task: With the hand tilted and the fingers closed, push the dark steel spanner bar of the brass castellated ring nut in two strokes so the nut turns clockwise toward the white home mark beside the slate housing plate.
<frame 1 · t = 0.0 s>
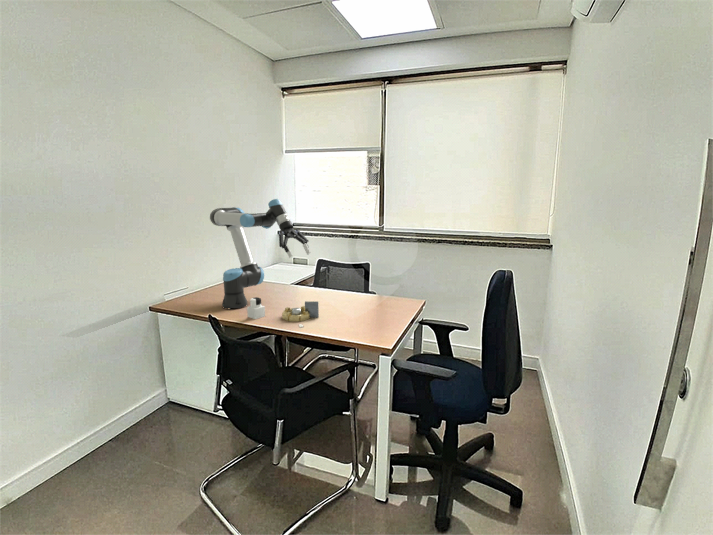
hand: (300, 255, 211), 36 cm above the table, tool tilted 35°, fingers open, 13 cm apart
housing plate: (296, 319, 213), on the table
home mark: (301, 328, 199), on the table
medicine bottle: (256, 318, 214), on the table
ring nut: (300, 309, 212), point 6 cm above the table, hinge at 0.0°
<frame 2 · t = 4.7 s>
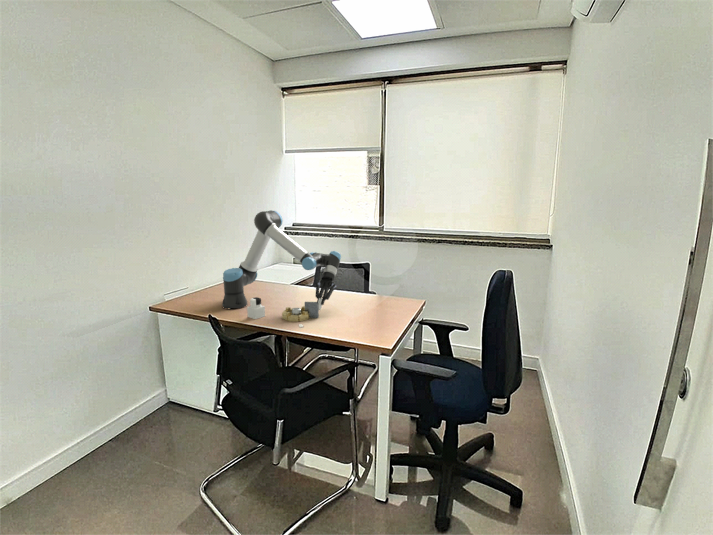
hand: (318, 309, 213), 5 cm above the table, tool tilted 45°, fingers closed
ring nut: (300, 309, 212), point 6 cm above the table, hinge at 4.0°, touching gripper
everything else where it was.
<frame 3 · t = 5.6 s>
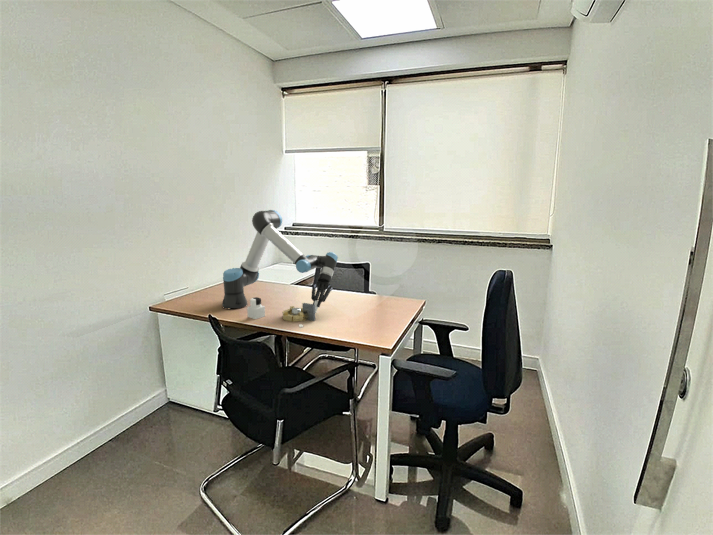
hand: (314, 311, 209), 5 cm above the table, tool tilted 45°, fingers closed
ring nut: (299, 310, 211), point 6 cm above the table, hinge at 28.7°, touching gripper
everything else where it was.
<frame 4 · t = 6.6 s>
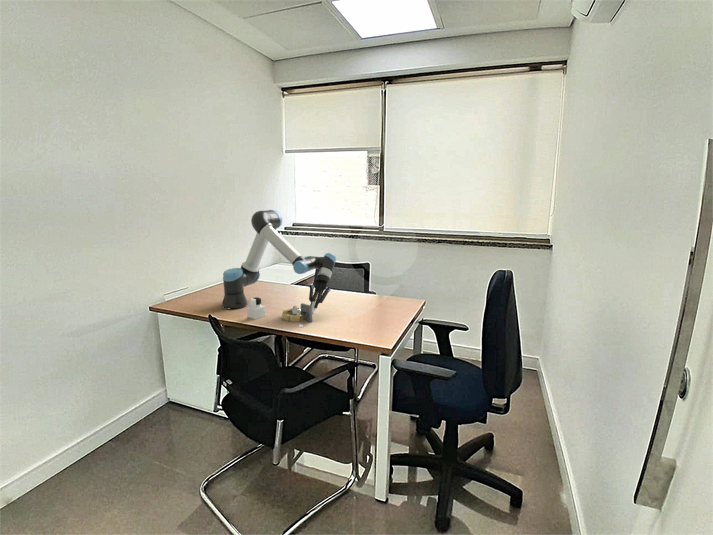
hand: (311, 313, 207), 5 cm above the table, tool tilted 45°, fingers closed
ring nut: (299, 310, 210), point 6 cm above the table, hinge at 42.1°, touching gripper
everything else where it was.
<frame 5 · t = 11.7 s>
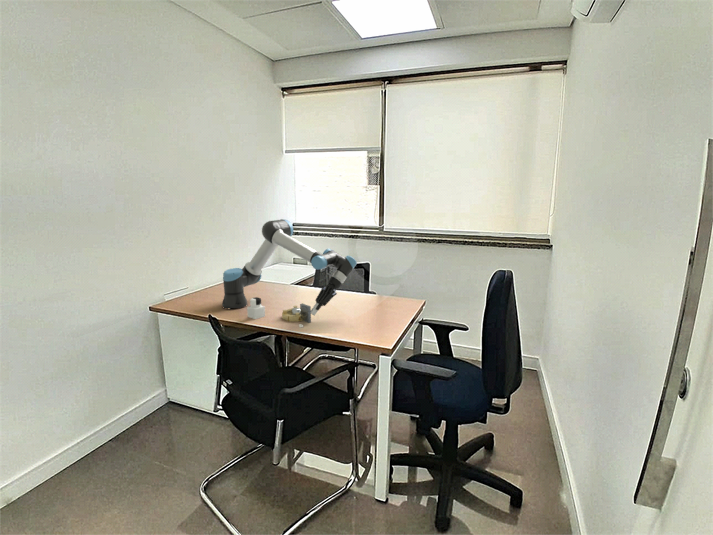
hand: (311, 313, 205), 5 cm above the table, tool tilted 45°, fingers closed
ring nut: (298, 310, 210), point 6 cm above the table, hinge at 46.0°, touching gripper
everything else where it was.
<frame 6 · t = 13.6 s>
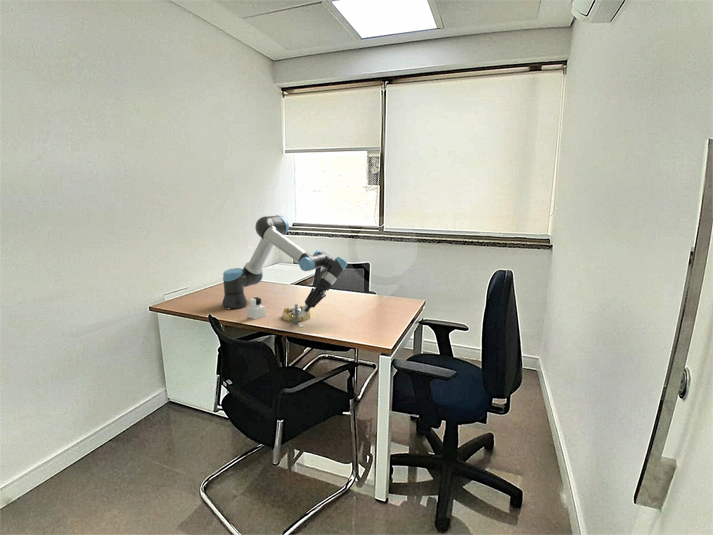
hand: (300, 315, 202), 5 cm above the table, tool tilted 45°, fingers closed
ring nut: (296, 310, 209), point 6 cm above the table, hinge at 80.1°, touching gripper
everything else where it was.
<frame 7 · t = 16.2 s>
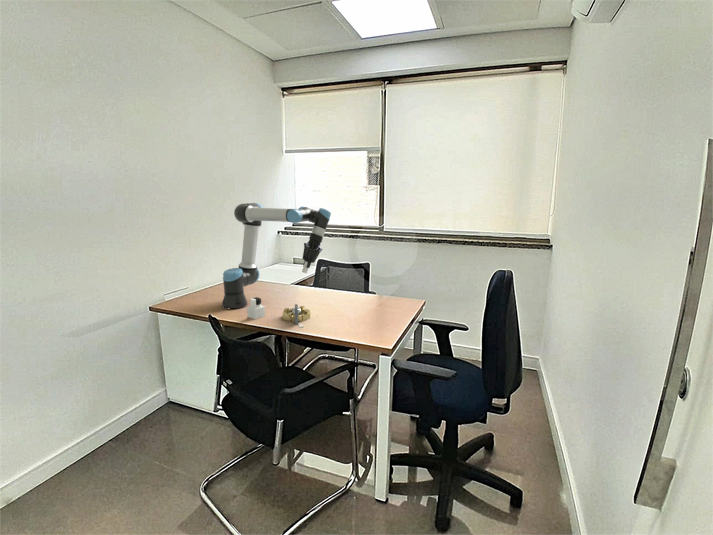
hand: (304, 272, 219), 25 cm above the table, tool tilted 20°, fingers closed
ring nut: (296, 310, 209), point 6 cm above the table, hinge at 80.1°
everything else where it was.
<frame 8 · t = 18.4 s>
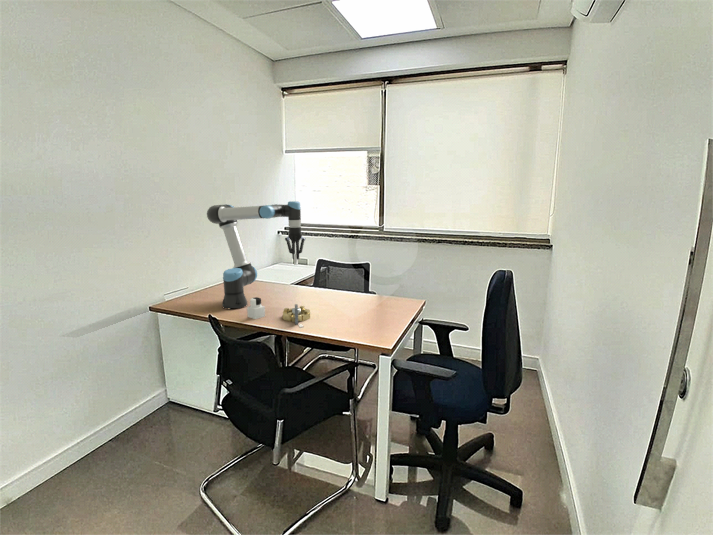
hand: (296, 264, 235), 26 cm above the table, tool pointing down, fingers closed
nothing on the table moved.
at the end: ring nut at +80° (first picture: +0°) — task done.
